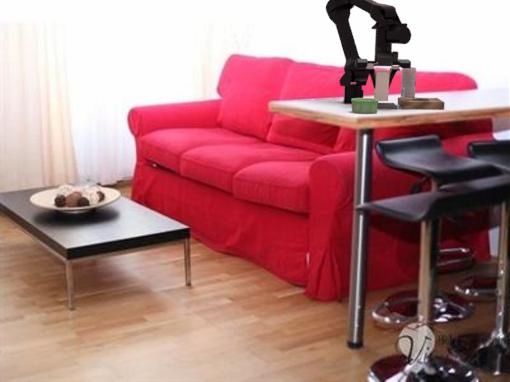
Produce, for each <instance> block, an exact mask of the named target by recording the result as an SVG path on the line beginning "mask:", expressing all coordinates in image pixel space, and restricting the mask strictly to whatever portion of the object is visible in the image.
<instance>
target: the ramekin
mask: <svg viewBox="0 0 510 382" xmlns="http://www.w3.org/2000/svg"><path fill="white" fill-rule="evenodd" d="M351 101H352V103H351V110H352V111H351V112H352V113H353V112H354V114H360V113H361V114H360V115H362V114H363V115H365V114H366V115H369V114H376V113H377V112H378V109H377V105H378V103H379V102H380V101H379V100H378V99H374V97H373V98H371V97H368V98H367V97H363V98H353V99H351Z"/></svg>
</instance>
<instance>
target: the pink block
mask: <svg viewBox="0 0 510 382" xmlns="http://www.w3.org/2000/svg"><path fill="white" fill-rule="evenodd" d="M389 71H390V70H375V83H376V85H375V89H374V88H373V89H374V91H373V93H374V95H373V98H374V99H378V100H379V101H378V102H389V89H390V88H389Z"/></svg>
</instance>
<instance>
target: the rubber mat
mask: <svg viewBox="0 0 510 382" xmlns="http://www.w3.org/2000/svg"><path fill="white" fill-rule="evenodd" d="M380 109H381V110H384V109H385V110H397V109H398V104H396V103H394V102H378V105H377V110H380Z"/></svg>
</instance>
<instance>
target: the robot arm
mask: <svg viewBox="0 0 510 382" xmlns="http://www.w3.org/2000/svg"><path fill="white" fill-rule="evenodd" d="M354 7H356V8H357V9H361V11H364V12H366V13H367V14H368V15H369V17H370V18H371V19H372V20H373V21H374V22H375V24H374V25H372V26H371V28H370V29H372V30H375V39H374V41H375V42H374V58H373V59H374V60H368V59H367V58H362V57H360V54H359V51H358V48H357V44H356V41H355V37H354V34H353V31H352V27H351V23H350V17H351V10H352V9H353V8H354ZM325 11H326V14H327V17H328V18H329V20H330V21H332V23H333V24H334V25H335V27H336V31H337V35H338V37H339V43H340V45H341V48H342V52H343V55H344V58H345V63H344V66H343V71H344V73H343V75H342V76H341V77H340V78H339V81H338V82H339V85H340V87H343V100H342V101H343V104H352V101H351V99H353V98H364V90H363V86H364V87H366V86H367V82H368V79H369V76H370V79H371V83H372V87H373V89H375V85H376V83H375V71H376V70H375V68H374V67H389V70H388V71H389V89H390V87H391V85H392V82H393V80H394V77H395V75H396V74H397V72H400V71H401V69H403V68H411V66H412V62H411V60H410V59H408V58H407V59H402V58H399V51H397V50H396V51H394V50H393V51H392V49H393V48H392V47H393V45H394V44H395V45H396V44H397V45H406V44H407V45H408V43H410V41H411V39H412V32H411V30H410V28H409V27H408V23H406V22H405V23H404V22H402V20H401V19H400V17H399V14H398V12H397V8H396V7H395V6H394V5H390V4H385V3H379V2H377V1H375V0H328V1H327V2H326V5H325ZM400 68H401V69H400Z"/></svg>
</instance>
